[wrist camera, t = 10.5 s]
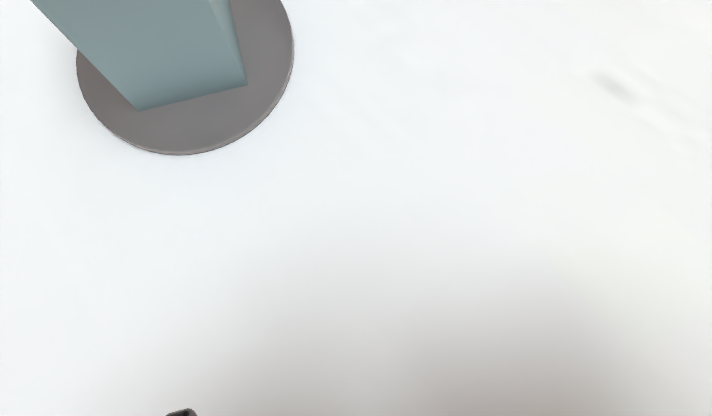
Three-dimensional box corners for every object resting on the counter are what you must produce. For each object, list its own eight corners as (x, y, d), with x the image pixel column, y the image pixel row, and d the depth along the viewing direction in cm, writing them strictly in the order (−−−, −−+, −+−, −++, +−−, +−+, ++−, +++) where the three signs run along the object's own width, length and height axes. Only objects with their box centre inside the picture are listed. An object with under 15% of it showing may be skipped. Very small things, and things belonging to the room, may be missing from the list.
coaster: (173, 199, 24) (168, 195, 24) (40, 55, 26) (33, 48, 26) (338, 54, 26) (337, 47, 25) (200, -72, 28) (196, -81, 27)
